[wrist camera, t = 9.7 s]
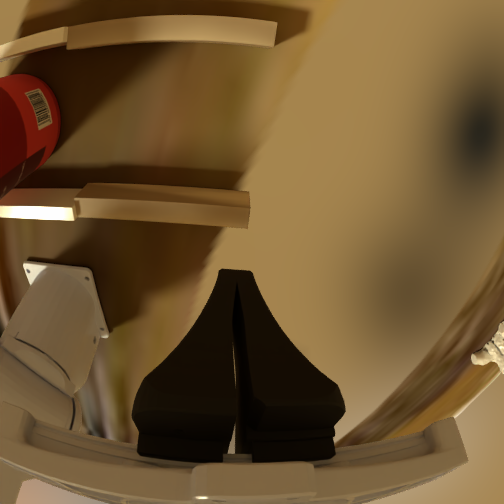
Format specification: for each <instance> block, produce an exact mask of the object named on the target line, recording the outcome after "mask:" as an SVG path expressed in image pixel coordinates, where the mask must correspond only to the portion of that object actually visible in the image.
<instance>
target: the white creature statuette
mask: <svg viewBox="0 0 504 504" xmlns="http://www.w3.org/2000/svg"><path fill="white" fill-rule="evenodd" d="M498 329H499V330H498V331H497V333H496V334H495V335H494V337H492V340H491V341H489V342H488V343H489V344H486V345H485V346H484V347H483V348H482V350H480V351H478V352H475V353H473V354H472V355H471V359H472V362H473V364H480V365H484V364H487V363H488V362H490V361H492V362H496V363H497V364H498V367H500V371H502V373H503V374H504V321H503V322H502V323H500V325H499V328H498ZM492 341H494V342H492Z"/></svg>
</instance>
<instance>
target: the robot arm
mask: <svg viewBox="0 0 504 504" xmlns="http://www.w3.org/2000/svg"><path fill="white" fill-rule="evenodd" d="M23 267H24V269H25V272H26V275H27V277H28V280H29V283H30V285H31V286H30V287H29V289H28V290H27V292H26V294H25V295H24V297H23V299H22V300H21V302H20V304H19V305H18V307H17V309H16V311H15V312H14V314H13V316H12V318H11V320H10V321H9V323H8V325H7V327H6V329H5V331H4V333H3V334H2V336H1V338H0V504H15V503H16V500H17V497H18V493H19V490H20V488H21V485H22V482H23V481H26V480H30V479H38V480H41V481H43V482H46V483H48V484H51V485H53V486H56V487H59V488H61V489H64V490H67V491H70V492H73V493H76V494H79V495H82V496H85V497H88V498H91V499H95V500H98V501H102V502H106V503H109V504H362V503H366V502H370V501H374V500H377V499H381V498H384V497H387V496H390V495H393V494H397V493H400V492H403V491H406V490H408V489H411V488H414V487H417V486H420V485H423V484H425V483H428V482H431V481H433V480H435V479H438V478H440V477H442V476H444V475H446V474H447V473H449V472H451V471H453V470H455V469H457V468H458V467H460V466H462V465H464V464H465V463H467V462H468V457H467V455H466V451H465V448H464V445H463V442H462V439H461V436H460V433H459V430H458V427H457V425H456V422H455V419H454V417H450V418H447V419H444V420H440V421H437V422H434V423H432V424H431V425H429V426H428V427H426V428H425V429H424V431H421V432H417V433H413V434H409V435H405V436H401V437H397V438H392V439H388V440H383V441H378V442H373V443H367V444H362V445H356V446H349V447H342V448H335V446H334V441H333V437H334V436H335V429H334V426H335V424H336V423H337V422H338V421H339V420H340V419H341V418H342V417H343V415H344V413H345V412H346V411H345V404H344V400H343V397H342V395H341V392H340V389H339V387H338V385H337V384H336V383H335V382H333V381H332V380H330V379H329V378H328V377H327V376H326V375H324V374H323V373H321V372H320V371H319V370H318V369H317V368H316V367H315V366H314V365H313V364H312V363H311V362H309V360H308V359H307V358H306V357H305V356H304V355H303V354H302V353H301V352H300V351H299V350H298V349H297V348H296V347H295V346H294V344H293V343H292V342H291V341H290V339H289V338H288V337H287V336H286V334H285V333H284V332H283V330H282V329H281V327H280V326H279V325H278V323H277V321H276V320H275V318H274V317H273V315H272V313H271V312H270V310H269V308H268V306H267V305H266V303H265V301H264V299H263V297H262V295H261V293H260V291H259V289H258V286H257V284H256V282H255V279H254V276H253V273H252V272H251V271H246V270H232V269H221V270H219V273H218V278H217V281H216V284H215V286H214V289H213V291H212V293H211V295H210V297H209V299H208V301H207V303H206V305H205V307H204V309H203V310H202V312H201V314H200V316H199V317H198V319H197V320H196V322H195V324H194V325H193V326H192V328H191V329H190V331H189V332H188V333H187V335H186V336H185V337H184V338H183V340H182V341H181V342H180V343H179V345H178V346H177V347H176V348H175V349H174V350H173V351H172V352H171V353H170V354H169V355H168V356H167V358H166V359H165V360H164V361H163V362H162V363H161V364H160V365H158V366H157V367H156V368H155V369H154V370H153V371H152V372H150V373H149V374H148V375H147V376H146V377H145V378H144V379H143V381H142V383H141V385H140V387H139V389H138V392H137V394H136V397H135V400H134V404H133V410H132V419H133V421H134V423H135V425H136V427H137V429H138V431H139V437H138V445H135V444H129V443H124V442H118V441H113V440H109V439H104V438H100V437H95V436H91V435H87V434H83V433H79V432H80V429H81V423H82V414H81V407H80V403H79V401H78V400H77V399H76V398H75V397H74V393H75V392H76V391H78V390H79V389H80V388H81V387H82V386H83V385H84V383H85V382H86V380H87V377H88V374H89V371H90V367H91V364H92V361H93V358H94V355H95V352H96V349H97V346H98V343H99V340H100V337H102V338H108V337H109V331H108V328H107V325H106V322H105V318H104V315H103V312H102V308H101V305H100V301H99V298H98V294H97V290H96V287H95V283H94V279H93V275H92V271H91V270H90V269H89V268H85V267H75V266H66V265H58V264H49V263H41V262H32V261H25V262H24V264H23ZM87 277H88V278H87ZM233 348H234V359H235V371H236V386H235V374H234V359H233ZM234 426H235V428H236V429H235V454H227V453H228V449H229V444H230V441H231V439H232V435H233V430H234Z"/></svg>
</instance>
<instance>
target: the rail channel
mask: <svg viewBox="0 0 504 504" xmlns="http://www.w3.org/2000/svg"><path fill="white" fill-rule="evenodd" d="M277 23H278V22H272V21H265V20H257V19H248V18H238V17H225V16H206V15H163V16H144V17H131V18H122V19H113V20H105V21H98V22H92V23H86V24H81V25H75V26H70V27H68V36H67V50H69V49H86V48H93V47H101V46H110V45H120V44H133V43H152V42H201V43H220V44H233V45H244V46H253V47H261V48H269V49H270V48H272V47H274V42H275V36H276V29H277ZM74 201H75V208H76V214H77V217H87V218H105V219H122V220H138V221H153V222H168V223H182V224H196V225H209V226H222V227H235V228H248V222H249V214H250V198H249V192H247V191H236V190H224V189H211V188H198V187H183V186H165V185H145V184H119V183H87V184H86V186H85V187H84V188H83V189H82V190H81V191H80V192H79V193H78V194H77V195H76V196H75V197H74Z"/></svg>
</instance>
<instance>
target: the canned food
mask: <svg viewBox="0 0 504 504" xmlns="http://www.w3.org/2000/svg"><path fill="white" fill-rule="evenodd" d="M60 128H61V115H60V109H59V105H58V102H57V99H56V97H55V95H54V93H53V91H52V90H51V89H50V87H49V86H48V85H47V84H46V83H45V82H44V81H42V80H41V79H39V78H37V77H35V76H32V75H28V74H14V75H10V76H6V77H2V78H0V199H2V198H3V197H4V196H5V195H6V194H7V193H8V192H9V191H11V190H12V189H13V188H14V187H15V186H16V185H18V184H19V183H20V182H21V181H22V180H24V179H25V178H26V177H27V176H29V175H30V174H31V173H32V172H34V171H35V170H36V169H37V168H39V167H40V166H41V165H43V164H44V163H45V162H46V160H47V159H48V158H49V157H50V155H51V153H52V152H53V150H54V148H55V146H56V144H57V141H58V138H59V135H60Z"/></svg>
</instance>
